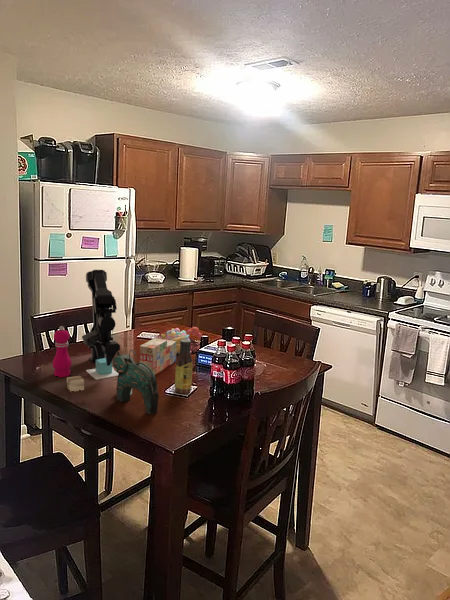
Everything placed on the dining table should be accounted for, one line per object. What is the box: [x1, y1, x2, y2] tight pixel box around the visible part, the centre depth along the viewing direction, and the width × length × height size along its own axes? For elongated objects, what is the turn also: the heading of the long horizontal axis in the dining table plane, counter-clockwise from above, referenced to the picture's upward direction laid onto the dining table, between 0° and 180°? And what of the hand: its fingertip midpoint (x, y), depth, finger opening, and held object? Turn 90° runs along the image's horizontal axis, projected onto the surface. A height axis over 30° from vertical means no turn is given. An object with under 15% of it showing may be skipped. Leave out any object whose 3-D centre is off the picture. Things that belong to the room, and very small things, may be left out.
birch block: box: [66, 375, 85, 393], centre depth 188 cm, size 5×5×4 cm
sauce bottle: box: [174, 339, 194, 394], centre depth 189 cm, size 6×6×20 cm
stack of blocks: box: [139, 337, 177, 376], centre depth 214 cm, size 21×6×12 cm, turn 159°
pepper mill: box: [52, 325, 72, 378], centre depth 199 cm, size 7×7×20 cm
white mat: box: [85, 366, 118, 381], centre depth 205 cm, size 11×11×1 cm
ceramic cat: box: [112, 349, 160, 416], centre depth 174 cm, size 20×6×20 cm, turn 51°
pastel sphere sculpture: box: [153, 326, 203, 355], centre depth 244 cm, size 25×24×9 cm
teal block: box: [95, 357, 113, 375], centre depth 204 cm, size 5×5×5 cm
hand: (103, 362), depth 204 cm, fingers open, 9 cm apart
